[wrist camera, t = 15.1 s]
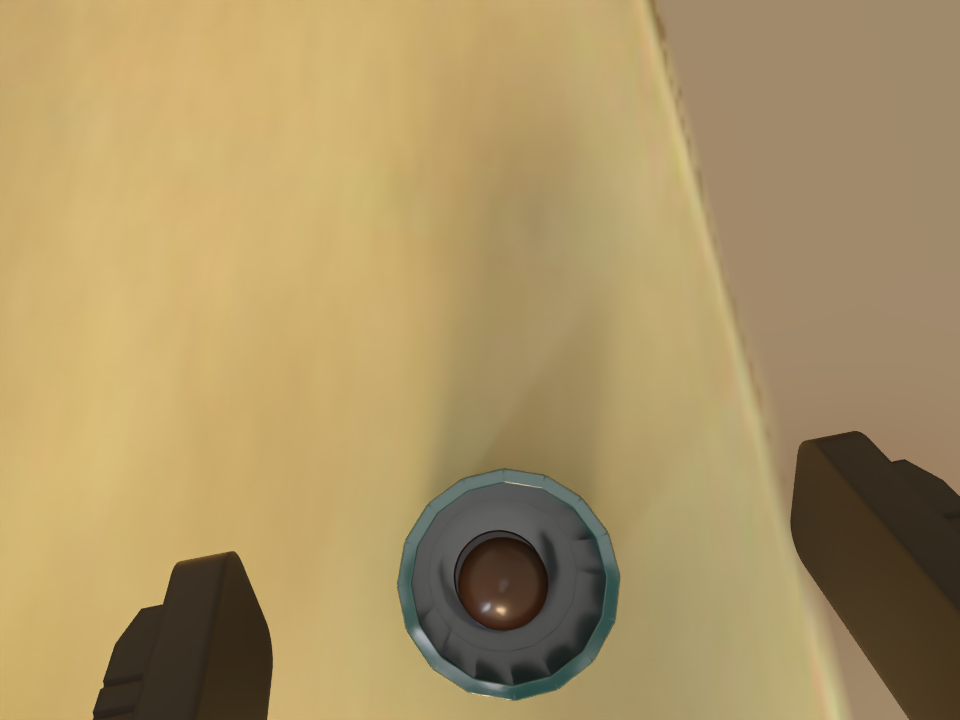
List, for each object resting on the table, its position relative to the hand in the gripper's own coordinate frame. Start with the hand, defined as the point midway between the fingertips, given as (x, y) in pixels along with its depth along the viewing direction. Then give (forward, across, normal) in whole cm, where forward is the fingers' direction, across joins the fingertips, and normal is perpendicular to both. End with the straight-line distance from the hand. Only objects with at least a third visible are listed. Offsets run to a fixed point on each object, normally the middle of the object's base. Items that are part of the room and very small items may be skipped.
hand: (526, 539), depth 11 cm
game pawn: (+17, 0, +18) cm, 25 cm away
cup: (+17, 0, +19) cm, 25 cm away
